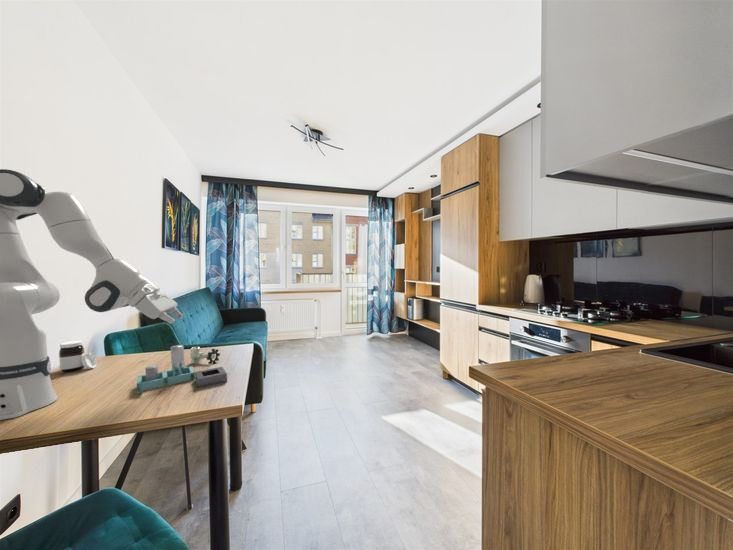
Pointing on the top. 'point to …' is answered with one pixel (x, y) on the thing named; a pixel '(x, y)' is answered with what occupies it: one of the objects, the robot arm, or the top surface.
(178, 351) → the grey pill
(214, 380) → the socket block
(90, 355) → the spread jar
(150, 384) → the rack
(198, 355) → the valve
